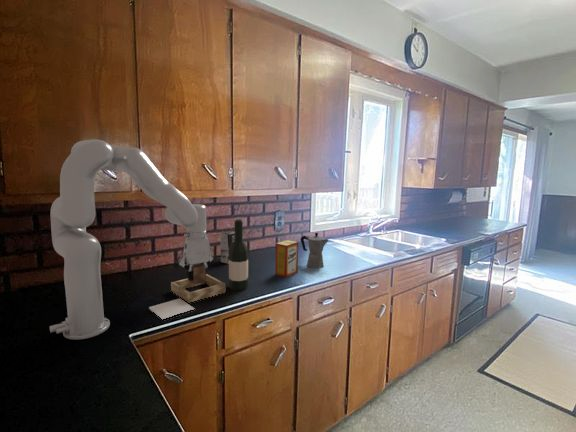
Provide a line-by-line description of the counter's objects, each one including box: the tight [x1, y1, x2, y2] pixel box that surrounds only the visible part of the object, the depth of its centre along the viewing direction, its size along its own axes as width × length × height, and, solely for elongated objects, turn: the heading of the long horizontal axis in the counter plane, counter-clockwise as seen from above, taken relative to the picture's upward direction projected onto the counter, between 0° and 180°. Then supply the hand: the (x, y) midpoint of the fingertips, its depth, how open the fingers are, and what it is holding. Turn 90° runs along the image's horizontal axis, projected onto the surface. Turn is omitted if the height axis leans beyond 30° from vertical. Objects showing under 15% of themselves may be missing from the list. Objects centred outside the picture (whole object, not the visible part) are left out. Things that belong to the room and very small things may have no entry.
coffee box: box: [220, 230, 235, 265], centre depth 174 cm, size 9×6×16 cm
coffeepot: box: [300, 232, 329, 269], centre depth 171 cm, size 15×9×18 cm, turn 67°
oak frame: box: [170, 273, 226, 304], centre depth 133 cm, size 16×15×4 cm
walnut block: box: [188, 263, 205, 284], centre depth 131 cm, size 5×5×7 cm
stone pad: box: [148, 297, 196, 321], centre depth 117 cm, size 12×12×1 cm
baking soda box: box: [274, 239, 299, 278], centre depth 157 cm, size 10×6×16 cm
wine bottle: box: [228, 218, 249, 291], centre depth 137 cm, size 8×8×30 cm
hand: (196, 277), depth 131 cm, fingers closed on walnut block, 5 cm apart
